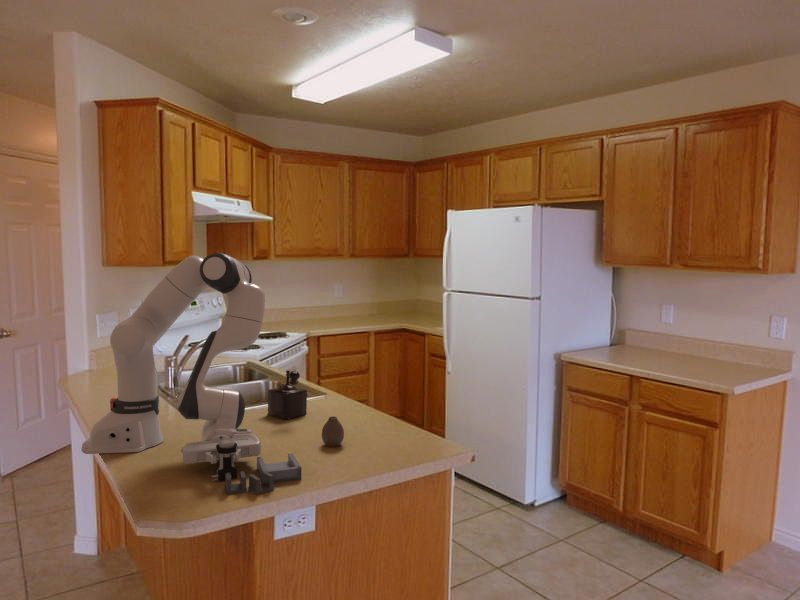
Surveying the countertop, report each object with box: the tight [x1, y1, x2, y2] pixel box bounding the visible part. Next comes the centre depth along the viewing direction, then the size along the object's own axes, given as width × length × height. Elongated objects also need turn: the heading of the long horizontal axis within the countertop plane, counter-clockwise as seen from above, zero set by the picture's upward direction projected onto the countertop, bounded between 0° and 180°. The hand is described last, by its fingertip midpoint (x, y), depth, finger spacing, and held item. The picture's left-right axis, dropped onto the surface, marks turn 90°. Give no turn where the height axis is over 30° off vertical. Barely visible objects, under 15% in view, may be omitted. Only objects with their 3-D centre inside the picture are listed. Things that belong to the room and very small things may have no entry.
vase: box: [321, 416, 345, 448], centre depth 179 cm, size 7×7×9 cm
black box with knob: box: [267, 369, 308, 421], centre depth 209 cm, size 16×11×18 cm
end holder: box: [256, 453, 302, 484], centre depth 155 cm, size 10×12×3 cm
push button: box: [211, 439, 238, 482], centre depth 151 cm, size 7×5×10 cm
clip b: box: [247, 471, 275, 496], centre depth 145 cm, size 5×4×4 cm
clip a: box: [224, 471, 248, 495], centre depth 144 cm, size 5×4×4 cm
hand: (224, 459), depth 150 cm, fingers open, 4 cm apart
